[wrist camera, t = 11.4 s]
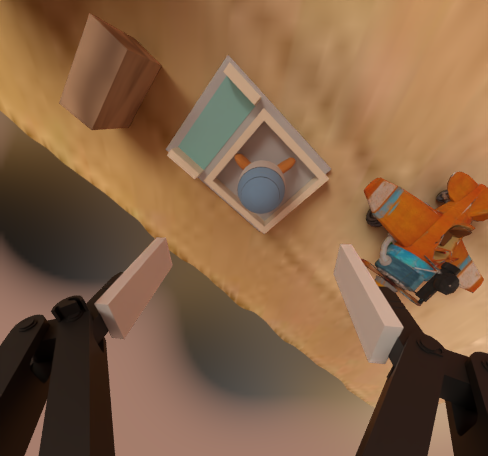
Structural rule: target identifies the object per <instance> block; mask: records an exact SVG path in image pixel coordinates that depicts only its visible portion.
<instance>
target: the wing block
mask: <svg viewBox="0 0 488 456" xmlns="http://www.w3.org/2000/svg"><path fill="white" fill-rule="evenodd" d="M161 66H162V65H161V64H160V63H159V62H158V61H157V60H156V59H155V58H154V57H153V56H152V55H150V54H149V53H148V52H147V51H146V50H145V49H144V48H143V47H142V46H141V45H140V44H139V43H138V42H137V41H136V40H135V39H134V38H133V37H131V36H129V35H127V34H126V33H124V32H122V31H120V30H119V29H117V28H115V27H113V26H112V25H110V24H108V23H106V22H105V21H103V20H101V19H99V18H98V17H96V16H94V15H92V14H91V13H89V16H88V19H87V22H86V25H85V28H84V31H83V34H82V37H81V40H80V43H79V46H78V49H77V52H76V55H75V58H74V60H73V63H72V66H71V69H70V72H69V75H68V78H67V81H66V84H65V87H64V90H63V93H62V96H61V99H60V102H59V104H60V105H62V106H63V107H64V108H65V109H67V110H68V111H69V112H70V113H71V114H73V115H74V116H75V117H76V118H78V119H79V120H80V121H81V122H82V123H84V124H85V125H86V126H87V127H89V128H90V129H91V130H100V129H113V128H127V127H129V126H130V124H131V122H132V120H133V118H134V116H135V115H136V113H137V111H138V109H139V107H140V105H141V103H142V101H143V100H144V98H145V96H146V94H147V92H148V90H149V88H150V86H151V84H152V83H153V81H154V79H155V77H156V75H157V73H158V71H159V69H160V68H161Z"/></svg>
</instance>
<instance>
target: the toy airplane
mask: <svg viewBox="0 0 488 456" xmlns="http://www.w3.org/2000/svg"><path fill="white" fill-rule="evenodd" d="M364 193H365V195H366V198H367V201H368V203H369V206H370V210H369V211H368V213H367V215H366V221H367V223H368V224H369V225H371V226H374V227H380V226H384V227H385V229H386V230H387V231H388V232H389V233H388V234H387V235H388V237H387V238H386V239H385V240H384V242H383V243H382V246H381V251H380V258H379V259H378V260H377V262H376V263H375V266H376V267H377V269H376V268H375V267H374V266H373V265H372V264H371V263H369V262H368V261H366V260H364V259H361V260H362V262H363V263H364V265H365V266H366V267H367V268H369V269H370V270H372V271H373V272H375V273H376V274H378V275H379V276H381V277H382V278H383V279H382V278H381V277H379V276H376V278H375V282H376V284H377V286H383V287H388V288H389V289H391V290H392V291H393V292H394V293H395V292H397V291H400V292H401V293H402V294H403V295H404V296H406V297H407V298H408V299H409V300H411V301H412V302H413V303H415V304H416V305H418V306H421V304H422V303H423V302H424V301H425V302H426V301H427V300H428V299H429V298H430V297H431V296H432V295H433V294H434V293H436V292H437V291H439V292H441V293H443V294H445V295H447V294H450V293H454V292H455V290H456V289H457V288H458V287H461V288H463V289H465V290H467V291H470V292H472V293H473V292H474V291H475V290H476V289H477V288H478V287H479V286H480V285H481V284H482V282H483V281H484V279H483V277H482V275H481V274H480V272H479V271H478V269H477V268H476V266H475V264H474V263H473V261H472V260H471V258H470V256H469V255H468V252H467V250H466V248H465V246H464V243H463V241H462V238H463V237H464V236H467V235H470V234H471V233H472V232H471V231H472V230H474V229H475V227H473V226H472V225H470V224H471V222H472V220H474V221H484V220H486V219H488V188H486V186H485V185H483V184H477V183H476V182H475V181H474V180H473V179H472V178H471V177H470V176H469V175H467V174H465V173H463V172H454V173H453V174H452V175H451V177H450V179H449V181H448V183H447V190H445V191H442V192H441V193H439V194H438V196H437V198H436V199H437V200H438V202H444V203H445V204H443V205H442V206H440V207H438V208H437V209H435V210H434V209H433V208H431V207H430V205H429V204H427V203H426V202H422V201H421V200H419V199H418V198H416V197H415V196H413V195H412V194H410V193H408V192H407V191H405V190H404V189H402V188H401V187H399V186H397V185H395V184H393V183H390V182H388V181H386V180H384V179H382V178H376V179H375V180H373V181H372V182H371V183H370V184H369V185H368V186H367V187H366V188H365V189H364ZM432 276H433V277H432ZM431 277H432V278H431ZM430 278H431V279H430ZM423 281H428V282H427V283H426V284H425V285H424V286H423V287H422V288H421V289H420V290H419V291H418V292H417V293H416V292H415V290H416V289H417V287H418V286H419V285H420V284H421V283H422V282H423ZM397 285H398V286H397ZM401 288H402V289H401ZM404 290H409V291H413V292H414V293H416V294H415V295H416V296H418V297H419V298H420V300H419V301H417V300H416V299H415V298H414V297H412V296H411V295H410V294H408V293H407V292H405V291H404Z"/></svg>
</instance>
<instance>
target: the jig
mask: <svg viewBox="0 0 488 456" xmlns="http://www.w3.org/2000/svg"><path fill="white" fill-rule="evenodd" d="M166 150H167V151H168V152H169V153H168V155H167V156H168V157H169V158H170V159H172V160H173V161H174V162H175V163H176V164H177V165H178V166H180V167H181V168H182V169H183V170H184V171H185V172H187V173H188V174H189V175H190V176H191V177H192V178H193V179H196V178H197V177H198V178H199V179H200V180H201V181H202V182H203V183H205V184H206V185H207V186H208V187H209V188H210V189H211V190H213V191H214V192H215V193H216V194H217V195H218V196H219V197H221V198H222V199H223V200H224V201H225V202H226V203H227V204H229V205H230V206H231V207H232V208H233V209H234V210H235V211H237V212H238V213H239V214H240V215H241V216H242V217H243V218H245V219H246V220H247V221H248V222H249V223H250V224H251V225H253V226H254V227H255V228H256V229H257V230H258V231H259V232H260V231H261V232H262V233H263V234H265V233H266V232H268V231H269V230H270V229H271V228H272V227H273V226H275V225H276V224H277V223H278V222H279V221H281V220H282V219H283V218H284V217H285V216H286V215H288V214H289V213H290V212H291V211H292V210H293V209H295V208H296V207H297V206H298V205H299V204H300V203H302V202H303V201H304V200H305V199H306V198H308V197H309V196H310V195H311V194H312V193H313V192H315V191H316V190H317V189H318V188H319V187H320V186H322V185H323V184H324V183H325V182H326V181H327V180H329V178H328V177H327V176H326V175H325V174H326V173H327V172H329V171H330V170H331V168H330V167H329V166H328V165H327V164H326V162H325V161H324V160H323V159H322V158H321V157H320V156H319V155H318V154H317V153H316V151H315V150H314V149H313V148H312V147H311V146H310V145H309V144H308V143H307V141H306V140H305V139H304V138H303V137H302V136H301V135H300V134H299V133H298V131H297V130H296V129H295V128H294V127H293V126H292V125H291V124H290V123H289V122H288V120H287V119H286V118H285V117H284V116H283V115H282V114H281V113H280V112H279V110H278V109H277V108H276V107H275V106H274V105H273V104H272V103H271V102H270V100H269V99H268V98H267V97H266V96H265V95H264V94H263V93H262V92H261V91H260V89H259V88H258V87H257V86H256V85H255V84H254V83H253V82H252V81H251V79H250V78H249V77H248V76H247V75H246V74H245V73H244V72H243V71H242V69H241V68H240V67H239V66H238V65H237V64H236V63H235V62H234V61H233V59H232V58H231V57H230V56H229V55H227V57H226V58H225V60H224V61H223V63H222V64H221V66H220V68H219V69H218V71H217V72H216V74H215V75H214V77H213V78H212V80H211V81H210V83H209V84H208V86H207V87H206V89H205V90H204V92H203V93H202V95H201V96H200V98H199V99H198V101H197V102H196V104H195V106H194V107H193V109H192V110H191V112H190V113H189V115H188V116H187V118H186V119H185V121H184V122H183V124H182V125H181V127H180V128H179V130H178V131H177V133H176V134H175V136H174V137H173V139H172V140H171V142H170V144H169V145H168V147H167V148H166ZM236 154H242V155H244V156H245V157H246V158H247V159H248V160H249V162H251V163H253V162H255V161H260V160H264V161H269V162H272V163H275V164H276V165H278V164H280V163H281V162H283V161H284V160H286V159H288V158H289V157H292V158H294V159H295V161H296V162H295V164H294V165H293V167H292V168H291V169H289V170H288V171H287V172H285V173H284V174H283V175H284V179H285V186H286V189H285V195H284V198H283V200H282V202H281V203H280V205H279V206H278V207H277V208H276V209H274V210H273V211H271V212H268V213H264V214H257V213H253V212H251V211H249V210H248V209H246V208H245V207H244V206H243V205H242V203H241V201H240V199H239V196H238V191H237V186H238V180H239V177H240V175H241V173H242V171H243V170H242V169H241V168H240V167H239V166H238V164H237V163H236V161H235V158H234V157H235V155H236Z"/></svg>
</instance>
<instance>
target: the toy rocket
mask: <svg viewBox="0 0 488 456" xmlns="http://www.w3.org/2000/svg"><path fill="white" fill-rule="evenodd" d="M234 158H235V161H236V163H237V164H238V166H239V167H240V168H241V169H242V170H243V171H242V173H241V175H240V177H239V180H238V186H237V191H238V196H239V199H240V201H241V203H242V205H243V206H244V207H245V208H246V209H248V210H249V211H251V212H253V213H257V214H264V213H268V212H271V211H273V210H274V209H276V208H277V207H278V206H279V205H280V203H281V202H282V200H283V198H284V195H285V189H286V186H285V179H284V175H283V174H284V173H285V172H287V171H288V170H289V169H291V168H292V167H293V165H294V164H295V162H296V161H295V159H294V158H292V157H289V158H288V159H286V160H284V161H283V162H281V163H280V164H278V165H276V164H275V163H272V162H269V161H264V160H260V161H255V162H253V163H251V162H249V160H248V159H247V158H246V157H245V156H244V155H242V154H236V155H235V157H234Z"/></svg>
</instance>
